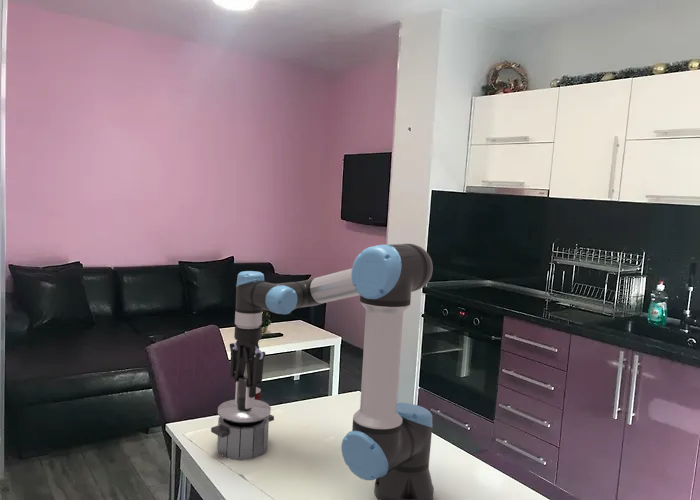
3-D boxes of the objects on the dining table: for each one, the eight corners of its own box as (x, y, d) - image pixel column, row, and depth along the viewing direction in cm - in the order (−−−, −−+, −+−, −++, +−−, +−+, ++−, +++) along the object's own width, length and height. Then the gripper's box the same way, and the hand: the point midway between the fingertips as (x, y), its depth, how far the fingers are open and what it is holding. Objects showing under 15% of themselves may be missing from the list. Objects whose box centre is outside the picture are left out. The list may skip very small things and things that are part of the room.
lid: (280, 418, 166) (283, 379, 165) (239, 432, 155) (241, 390, 154) (248, 403, 176) (250, 366, 175) (207, 415, 165) (208, 376, 164)
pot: (282, 447, 169) (284, 418, 168) (230, 467, 155) (232, 435, 154) (252, 432, 178) (253, 404, 177) (200, 449, 164) (202, 419, 163)
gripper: (278, 330, 160) (273, 410, 162) (240, 318, 171) (236, 394, 174) (257, 333, 154) (253, 417, 157) (219, 321, 166) (216, 399, 168)
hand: (244, 405), depth 165 cm, fingers closed on lid, 4 cm apart
